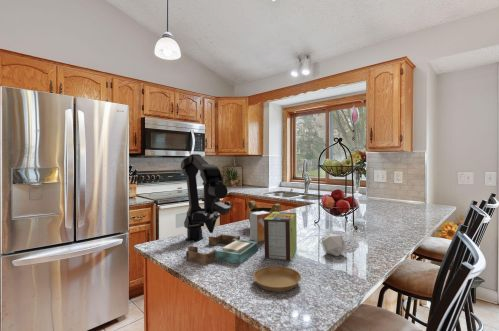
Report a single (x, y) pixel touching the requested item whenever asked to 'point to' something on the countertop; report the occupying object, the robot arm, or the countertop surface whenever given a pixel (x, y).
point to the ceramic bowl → (262, 208)
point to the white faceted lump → (334, 244)
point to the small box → (257, 225)
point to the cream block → (236, 247)
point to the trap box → (221, 255)
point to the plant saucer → (277, 278)
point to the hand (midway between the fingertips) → (211, 232)
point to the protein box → (280, 235)
